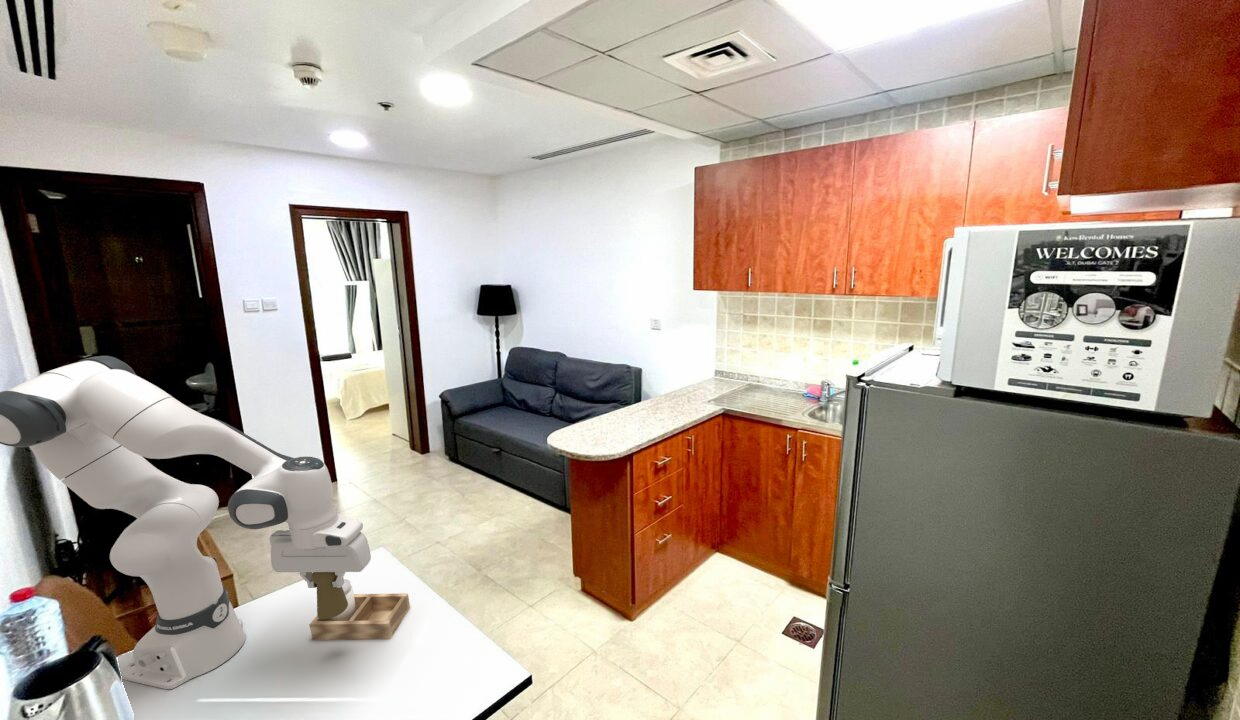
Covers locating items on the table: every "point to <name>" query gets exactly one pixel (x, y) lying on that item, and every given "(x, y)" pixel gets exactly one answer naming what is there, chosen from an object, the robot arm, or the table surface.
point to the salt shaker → (351, 603)
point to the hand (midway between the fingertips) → (326, 586)
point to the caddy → (366, 618)
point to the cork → (328, 596)
